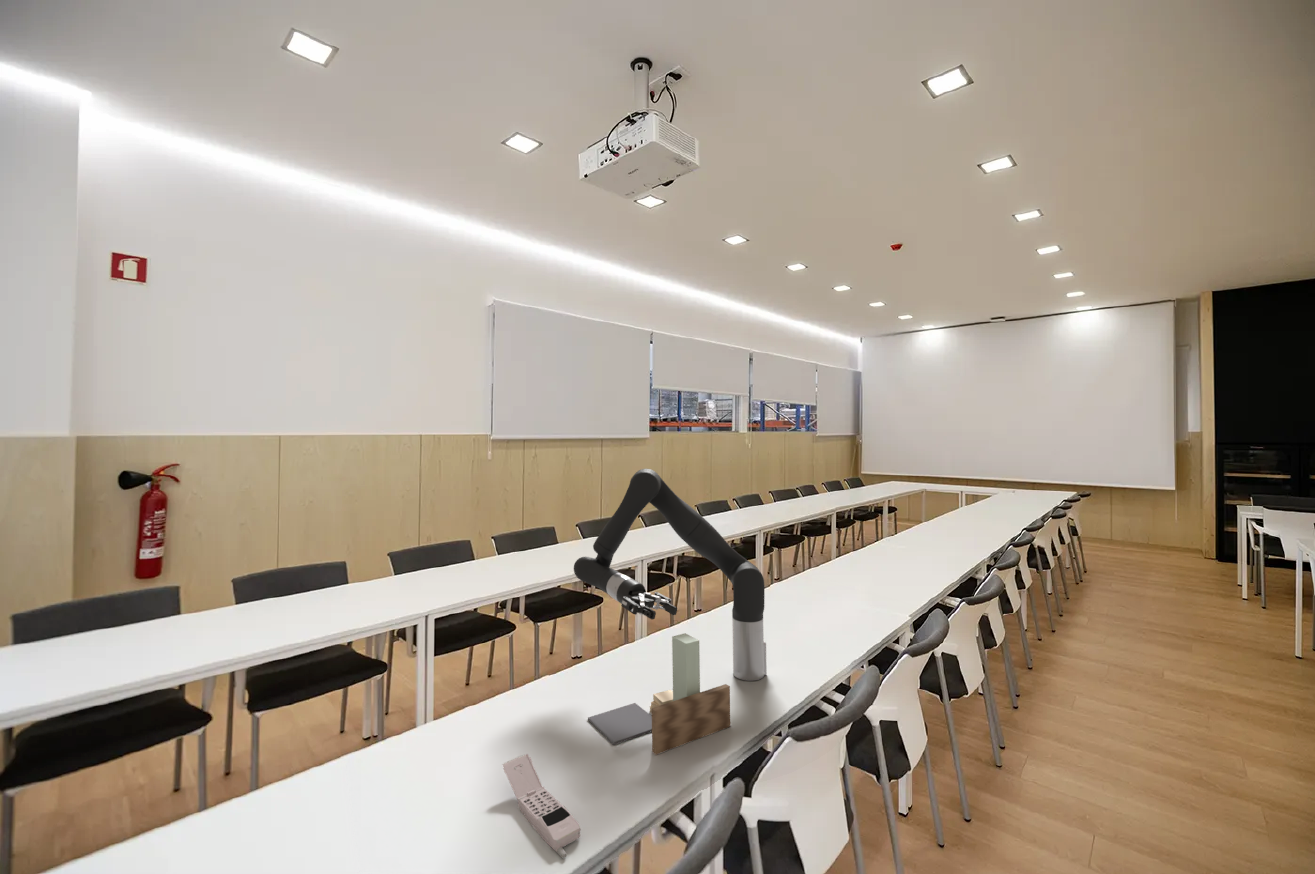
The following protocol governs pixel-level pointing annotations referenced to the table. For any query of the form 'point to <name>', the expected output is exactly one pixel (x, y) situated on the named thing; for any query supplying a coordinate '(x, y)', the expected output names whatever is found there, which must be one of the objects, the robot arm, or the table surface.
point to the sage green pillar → (685, 666)
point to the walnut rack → (690, 718)
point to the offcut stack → (661, 698)
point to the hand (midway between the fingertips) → (665, 613)
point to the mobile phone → (541, 805)
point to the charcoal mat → (623, 723)
